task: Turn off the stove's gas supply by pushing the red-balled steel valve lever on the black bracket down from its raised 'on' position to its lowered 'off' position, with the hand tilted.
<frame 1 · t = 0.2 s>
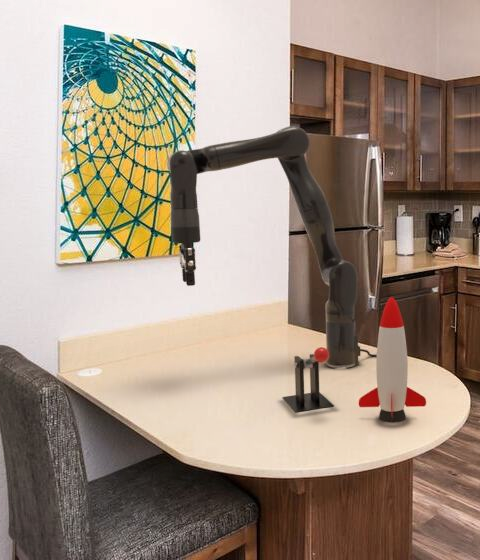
hand: (188, 283, 172), 29 cm above the counter, tool pointing down, fingers open, 8 cm apart
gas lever: (314, 359, 151), point 14 cm above the counter, hinge at 24.0°
toy rocket: (392, 421, 147), on the counter
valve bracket: (307, 405, 158), on the counter
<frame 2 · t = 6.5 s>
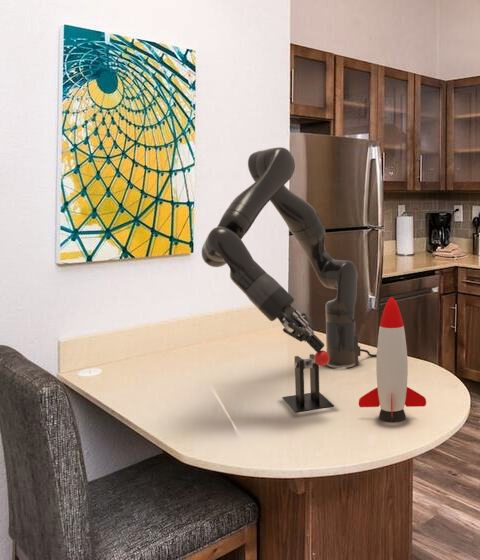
hand: (321, 348, 144), 18 cm above the counter, tool tilted 45°, fingers closed
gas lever: (314, 361, 150), point 13 cm above the counter, hinge at 20.7°, touching gripper
everything else where it was.
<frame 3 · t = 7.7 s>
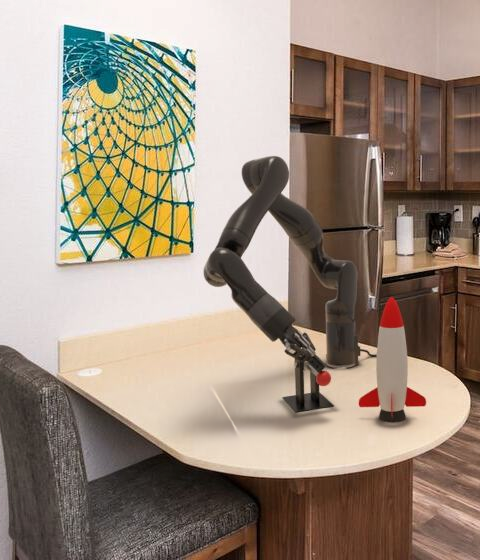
hand: (322, 369, 144), 13 cm above the counter, tool tilted 45°, fingers closed
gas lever: (315, 371, 150), point 11 cm above the counter, hinge at -0.6°, touching gripper
everything else where it was.
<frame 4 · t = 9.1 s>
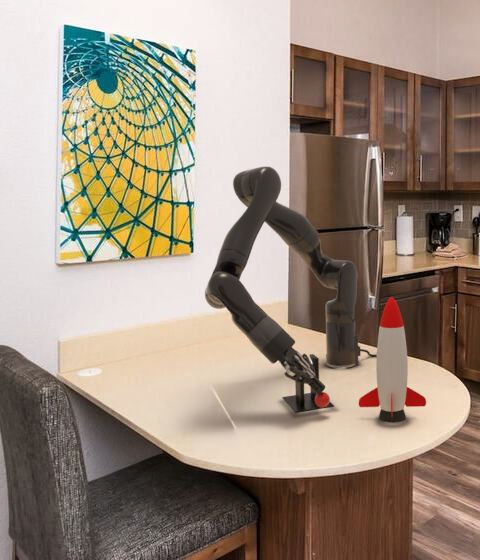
hand: (322, 390, 146), 8 cm above the counter, tool tilted 45°, fingers closed
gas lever: (314, 381, 151), point 8 cm above the counter, hinge at -26.2°, touching gripper
everything else where it was.
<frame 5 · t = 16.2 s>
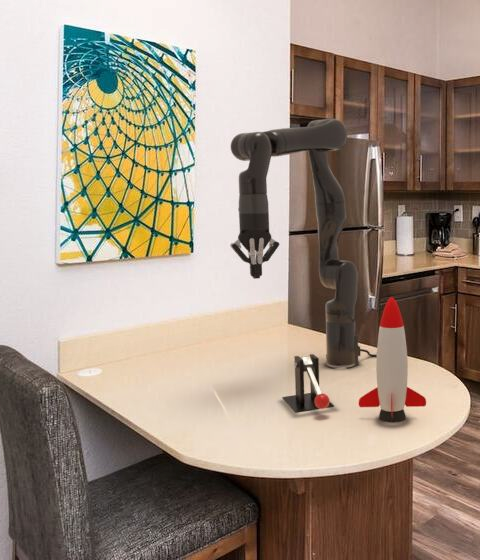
hand: (256, 278, 162), 32 cm above the counter, tool pointing down, fingers closed
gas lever: (314, 382, 152), point 8 cm above the counter, hinge at -28.4°
everything else where it was.
at the end: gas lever at -28° (first picture: +24°); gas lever reached -28° during the clip, -28° at the end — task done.
